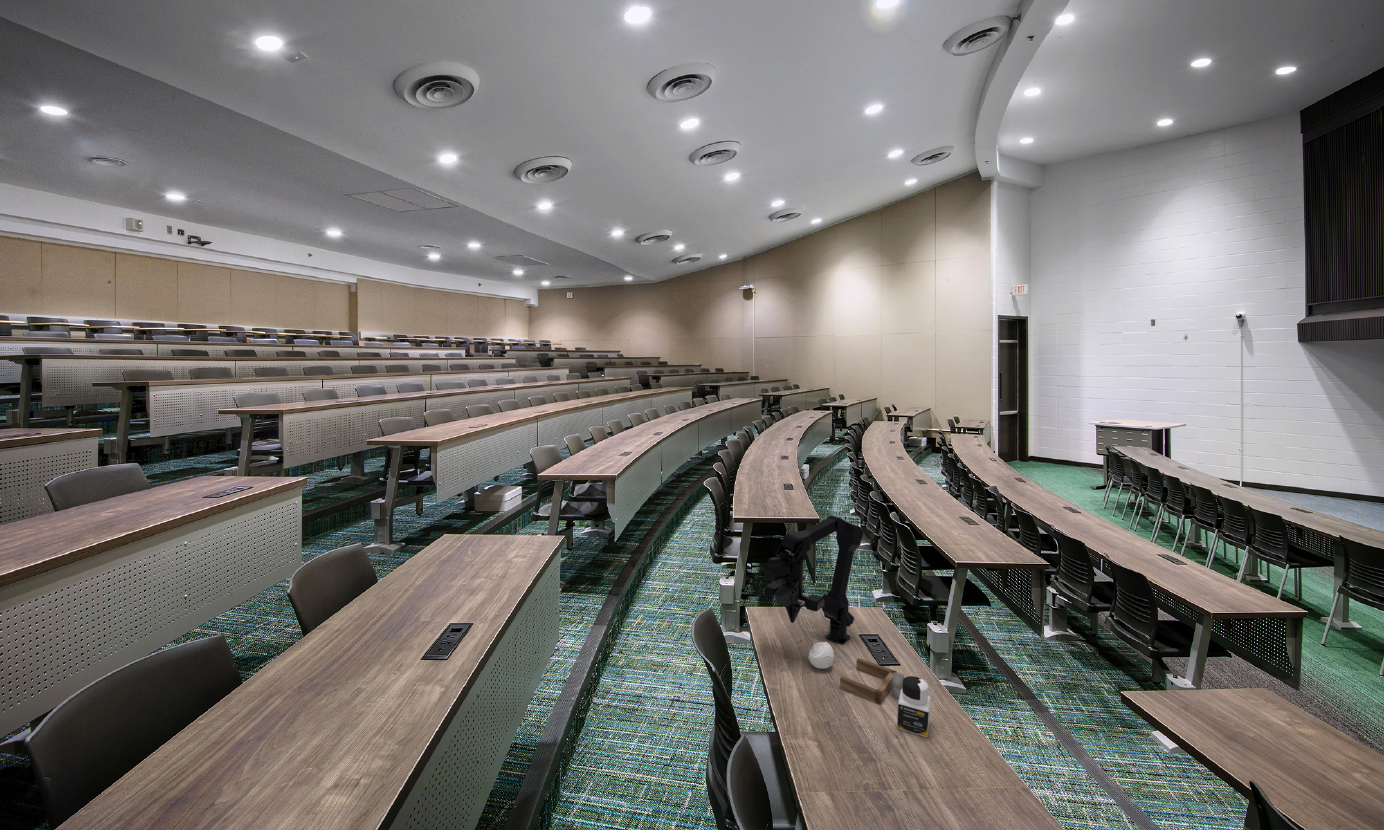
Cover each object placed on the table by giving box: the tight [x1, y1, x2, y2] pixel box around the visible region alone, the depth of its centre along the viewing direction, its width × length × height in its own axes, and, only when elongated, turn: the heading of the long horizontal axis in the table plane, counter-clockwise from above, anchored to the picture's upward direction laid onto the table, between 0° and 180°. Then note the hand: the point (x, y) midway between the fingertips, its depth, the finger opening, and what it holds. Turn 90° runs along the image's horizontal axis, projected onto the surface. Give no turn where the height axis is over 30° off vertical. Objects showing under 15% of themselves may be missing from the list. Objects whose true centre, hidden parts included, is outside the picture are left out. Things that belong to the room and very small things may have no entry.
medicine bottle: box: [896, 675, 932, 738], centre depth 135 cm, size 7×7×12 cm
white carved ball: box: [808, 641, 835, 670], centre depth 161 cm, size 8×8×8 cm
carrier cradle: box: [839, 657, 905, 705], centre depth 151 cm, size 14×16×6 cm
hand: (792, 622), depth 167 cm, fingers closed
